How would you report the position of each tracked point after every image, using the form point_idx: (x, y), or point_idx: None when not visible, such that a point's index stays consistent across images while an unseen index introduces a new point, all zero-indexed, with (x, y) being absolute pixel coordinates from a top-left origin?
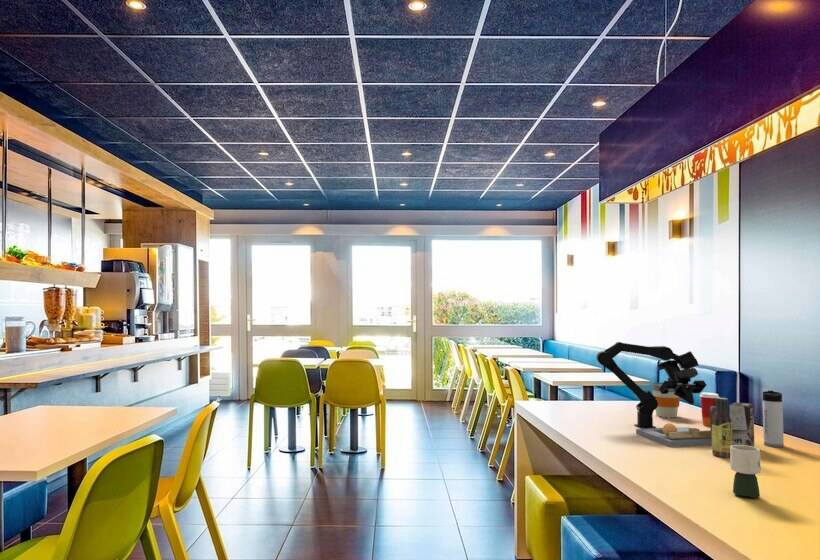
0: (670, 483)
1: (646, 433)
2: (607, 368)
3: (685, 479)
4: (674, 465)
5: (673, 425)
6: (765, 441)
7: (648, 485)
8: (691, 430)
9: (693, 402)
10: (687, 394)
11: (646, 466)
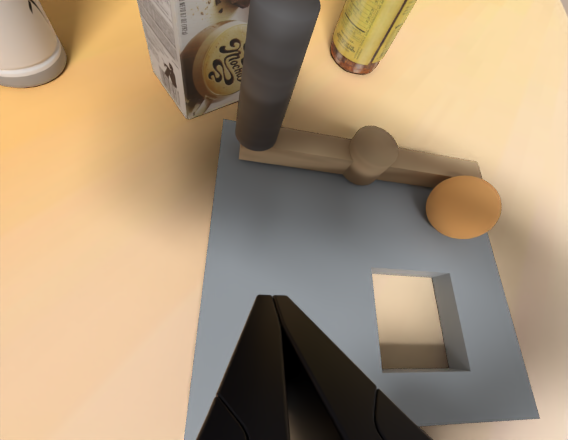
0: (531, 9)
1: (506, 312)
2: None
3: (504, 8)
4: (497, 57)
5: (472, 178)
6: (54, 56)
7: (561, 17)
8: (392, 143)
9: (266, 297)
10: (374, 415)
11: (549, 73)
